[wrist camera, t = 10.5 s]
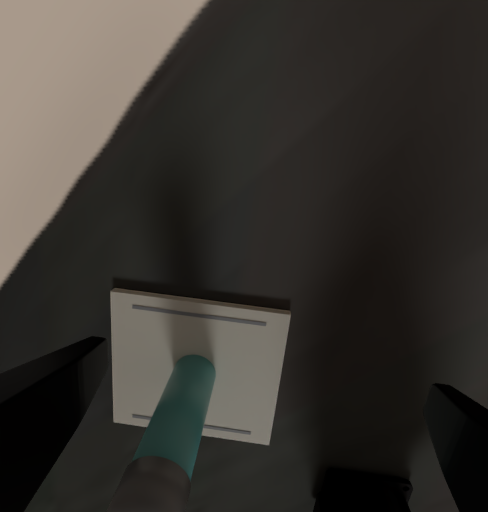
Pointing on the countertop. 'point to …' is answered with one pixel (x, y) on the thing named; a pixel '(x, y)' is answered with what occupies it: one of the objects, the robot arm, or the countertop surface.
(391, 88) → the countertop surface
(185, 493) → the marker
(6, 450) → the robot arm
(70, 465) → the countertop surface
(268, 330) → the notepad
